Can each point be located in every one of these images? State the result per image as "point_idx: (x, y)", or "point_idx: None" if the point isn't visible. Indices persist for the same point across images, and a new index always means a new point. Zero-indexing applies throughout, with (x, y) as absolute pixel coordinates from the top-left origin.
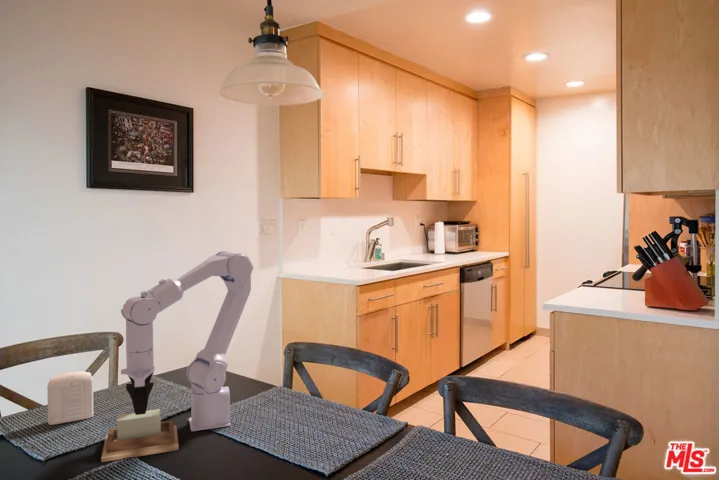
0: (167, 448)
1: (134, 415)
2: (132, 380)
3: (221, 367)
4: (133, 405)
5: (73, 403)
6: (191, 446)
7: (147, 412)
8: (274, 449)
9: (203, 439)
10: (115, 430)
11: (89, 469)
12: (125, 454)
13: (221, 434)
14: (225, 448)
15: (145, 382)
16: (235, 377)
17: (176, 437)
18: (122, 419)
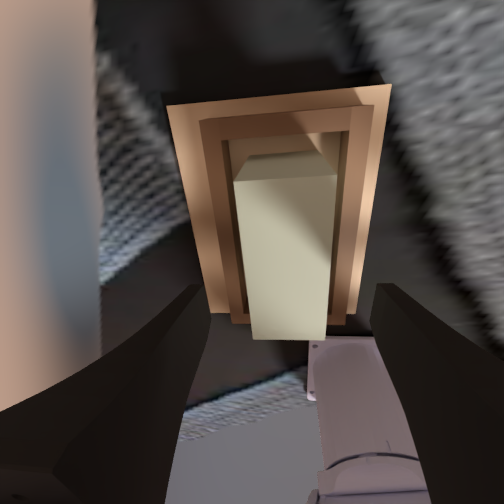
0: (206, 290)
1: (286, 255)
2: (488, 420)
3: None
4: (155, 317)
5: None
6: (226, 328)
7: (303, 301)
8: (181, 422)
9: (257, 350)
10: (347, 138)
11: (122, 69)
12: (186, 188)
13: (271, 377)
14: (200, 374)
15: (429, 443)
16: None
17: None
18: (248, 206)
